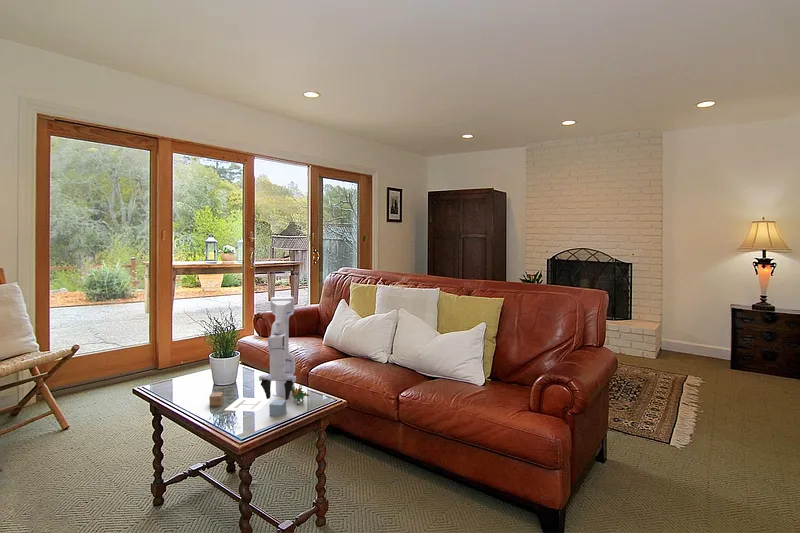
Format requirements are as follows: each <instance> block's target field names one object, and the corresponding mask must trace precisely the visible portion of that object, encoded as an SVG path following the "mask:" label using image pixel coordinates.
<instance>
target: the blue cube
mask: <svg viewBox="0 0 800 533" xmlns="http://www.w3.org/2000/svg"><path fill="white" fill-rule="evenodd" d="M286 412H287V400H283V399H282V400H281V399H274V400H272V402H270V404H269V417H283V416H284V415H285V414H286Z"/></svg>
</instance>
